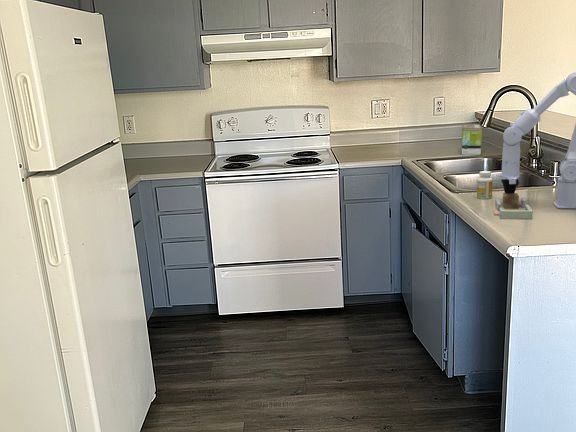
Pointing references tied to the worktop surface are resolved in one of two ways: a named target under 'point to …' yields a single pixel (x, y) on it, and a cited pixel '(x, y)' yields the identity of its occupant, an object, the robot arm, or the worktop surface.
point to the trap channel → (513, 211)
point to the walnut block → (510, 200)
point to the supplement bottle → (484, 185)
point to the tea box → (471, 139)
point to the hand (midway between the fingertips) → (509, 199)
